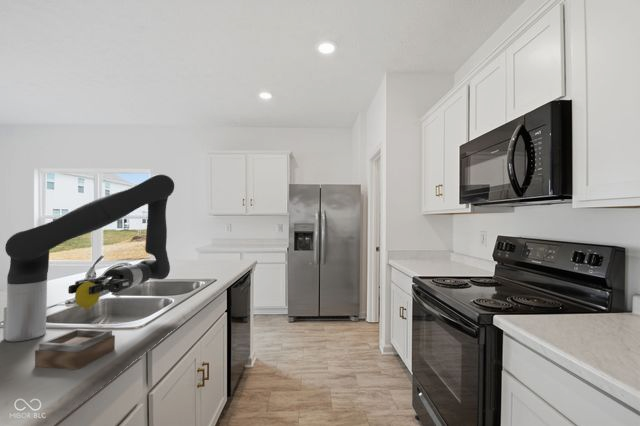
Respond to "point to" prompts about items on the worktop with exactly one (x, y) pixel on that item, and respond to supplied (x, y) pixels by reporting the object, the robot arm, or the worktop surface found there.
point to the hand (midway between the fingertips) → (80, 290)
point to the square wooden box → (74, 348)
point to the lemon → (86, 296)
